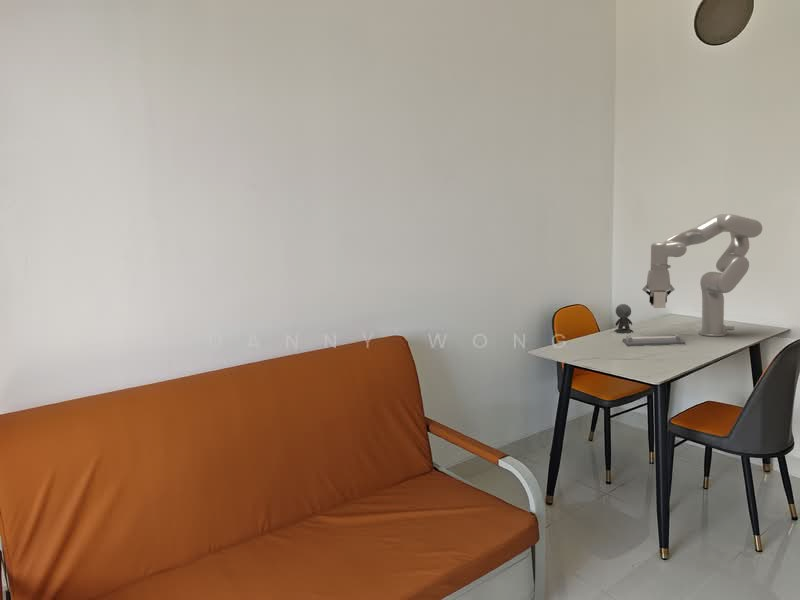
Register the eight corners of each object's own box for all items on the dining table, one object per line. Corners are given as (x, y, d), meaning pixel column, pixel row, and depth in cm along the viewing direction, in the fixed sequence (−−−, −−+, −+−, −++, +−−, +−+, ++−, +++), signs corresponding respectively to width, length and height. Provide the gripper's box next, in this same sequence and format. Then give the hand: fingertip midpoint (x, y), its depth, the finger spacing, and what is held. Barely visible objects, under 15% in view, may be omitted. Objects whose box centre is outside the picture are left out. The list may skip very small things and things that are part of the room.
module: (661, 305, 278) (661, 287, 277) (665, 307, 271) (665, 289, 269) (650, 305, 279) (651, 287, 278) (654, 307, 272) (654, 290, 270)
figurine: (629, 329, 302) (629, 302, 300) (635, 333, 293) (634, 305, 290) (613, 330, 303) (612, 303, 301) (618, 334, 293) (618, 306, 291)
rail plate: (677, 339, 274) (677, 332, 273) (685, 344, 263) (685, 337, 262) (622, 340, 278) (622, 334, 278) (627, 346, 268) (627, 339, 267)
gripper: (675, 266, 274) (674, 302, 277) (638, 267, 277) (638, 303, 280) (679, 268, 267) (678, 305, 269) (642, 268, 270) (641, 305, 273)
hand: (658, 303), depth 275 cm, fingers closed on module, 5 cm apart
